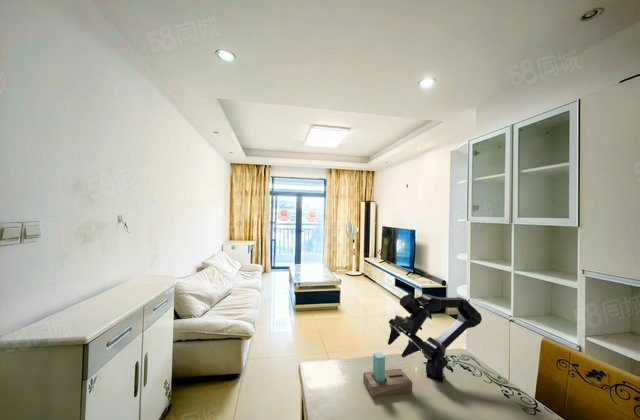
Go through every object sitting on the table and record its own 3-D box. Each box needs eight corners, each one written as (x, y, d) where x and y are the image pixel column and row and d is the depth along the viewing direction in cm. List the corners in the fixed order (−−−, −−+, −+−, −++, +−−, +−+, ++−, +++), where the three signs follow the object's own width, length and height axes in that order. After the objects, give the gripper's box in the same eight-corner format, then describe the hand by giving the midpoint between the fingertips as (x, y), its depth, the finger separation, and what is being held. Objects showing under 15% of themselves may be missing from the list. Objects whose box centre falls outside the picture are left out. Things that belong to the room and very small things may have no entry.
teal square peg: (380, 384, 100) (380, 352, 101) (384, 390, 97) (385, 356, 98) (373, 386, 99) (373, 353, 100) (377, 391, 96) (377, 358, 97)
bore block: (412, 392, 96) (412, 382, 96) (371, 397, 93) (372, 386, 93) (400, 378, 105) (400, 368, 105) (363, 382, 101) (363, 372, 102)
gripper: (391, 301, 112) (371, 328, 109) (421, 319, 94) (397, 352, 91) (405, 315, 115) (386, 342, 111) (436, 335, 97) (414, 368, 94)
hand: (394, 350), depth 102 cm, fingers open, 9 cm apart
